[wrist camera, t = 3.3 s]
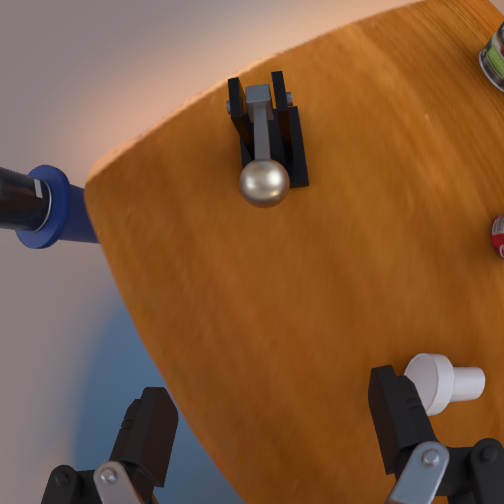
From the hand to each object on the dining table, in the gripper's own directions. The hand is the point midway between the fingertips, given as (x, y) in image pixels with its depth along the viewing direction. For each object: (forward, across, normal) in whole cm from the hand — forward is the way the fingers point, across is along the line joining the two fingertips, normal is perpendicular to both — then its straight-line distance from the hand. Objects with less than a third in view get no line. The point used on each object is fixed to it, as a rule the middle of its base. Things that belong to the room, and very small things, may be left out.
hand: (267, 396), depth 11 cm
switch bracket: (+34, -2, -4) cm, 34 cm away
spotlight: (+18, -20, +24) cm, 36 cm away
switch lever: (+19, -1, -6) cm, 20 cm away
